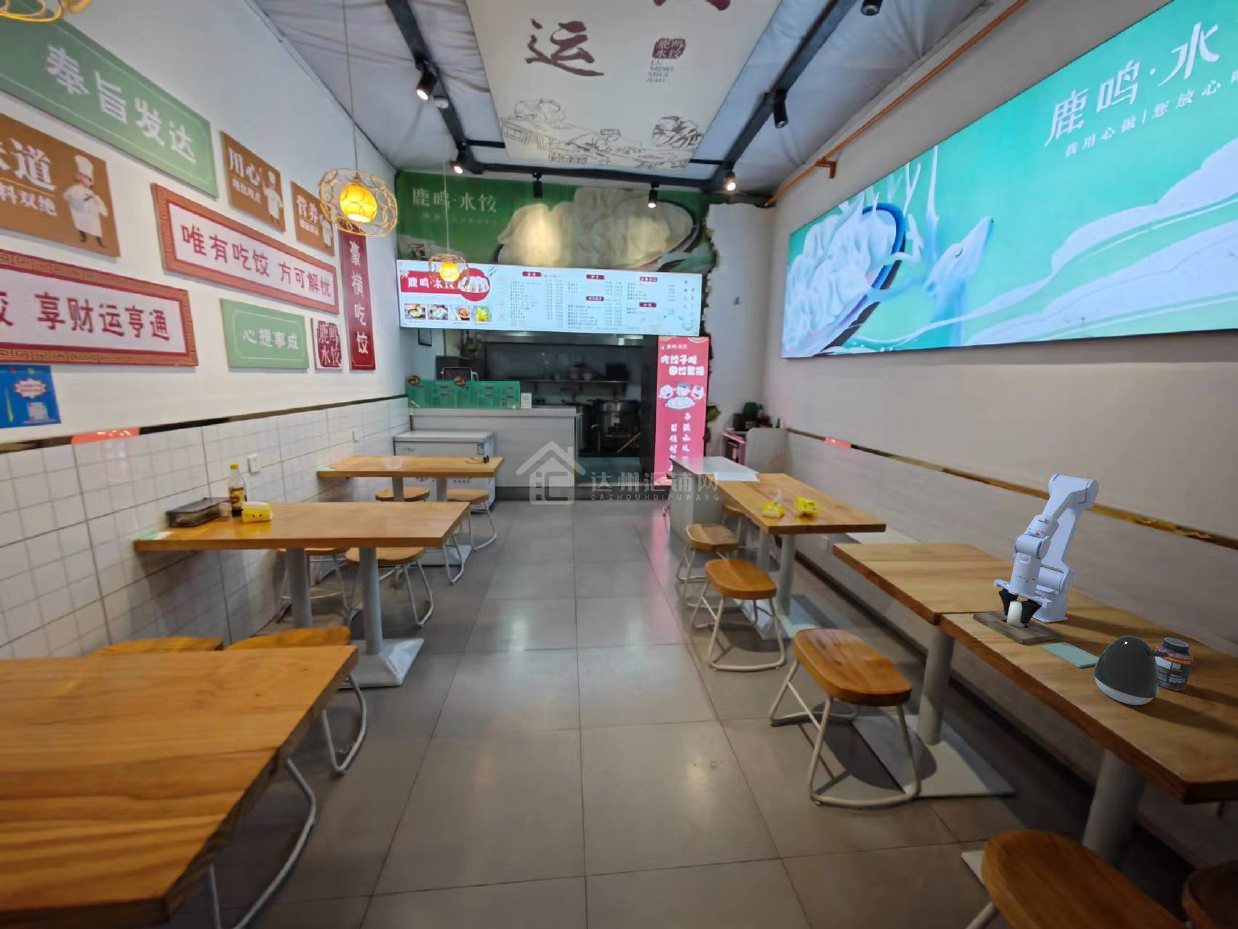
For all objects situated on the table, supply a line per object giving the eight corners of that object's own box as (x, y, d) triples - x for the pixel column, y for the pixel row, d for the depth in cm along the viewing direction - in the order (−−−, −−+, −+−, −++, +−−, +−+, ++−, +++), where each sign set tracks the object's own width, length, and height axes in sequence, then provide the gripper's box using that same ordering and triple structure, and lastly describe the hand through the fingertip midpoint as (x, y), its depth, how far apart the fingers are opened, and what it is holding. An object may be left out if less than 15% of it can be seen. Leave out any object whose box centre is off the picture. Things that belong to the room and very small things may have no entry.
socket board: (1008, 613, 147) (1009, 609, 147) (1058, 638, 134) (1060, 633, 134) (972, 618, 144) (973, 614, 143) (1021, 644, 130) (1022, 639, 130)
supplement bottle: (1166, 677, 117) (1178, 636, 115) (1192, 693, 111) (1205, 650, 109) (1140, 675, 118) (1151, 634, 116) (1164, 691, 112) (1176, 648, 110)
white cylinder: (1012, 623, 141) (1017, 599, 140) (1026, 631, 137) (1032, 605, 136) (1002, 625, 140) (1007, 600, 139) (1016, 632, 136) (1021, 607, 135)
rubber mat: (1065, 643, 131) (1065, 641, 131) (1104, 663, 123) (1105, 661, 122) (1040, 647, 129) (1041, 645, 129) (1079, 667, 120) (1079, 665, 120)
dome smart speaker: (1141, 718, 103) (1158, 655, 100) (1080, 688, 112) (1094, 630, 109) (1163, 705, 107) (1180, 645, 104) (1102, 678, 116) (1116, 622, 113)
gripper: (989, 566, 141) (981, 608, 144) (1042, 588, 128) (1032, 633, 130) (1007, 564, 143) (999, 606, 146) (1061, 585, 129) (1051, 631, 132)
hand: (1016, 619), depth 138 cm, fingers closed on white cylinder, 4 cm apart
